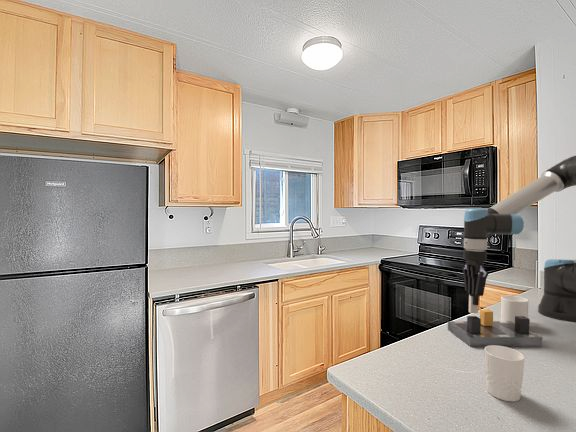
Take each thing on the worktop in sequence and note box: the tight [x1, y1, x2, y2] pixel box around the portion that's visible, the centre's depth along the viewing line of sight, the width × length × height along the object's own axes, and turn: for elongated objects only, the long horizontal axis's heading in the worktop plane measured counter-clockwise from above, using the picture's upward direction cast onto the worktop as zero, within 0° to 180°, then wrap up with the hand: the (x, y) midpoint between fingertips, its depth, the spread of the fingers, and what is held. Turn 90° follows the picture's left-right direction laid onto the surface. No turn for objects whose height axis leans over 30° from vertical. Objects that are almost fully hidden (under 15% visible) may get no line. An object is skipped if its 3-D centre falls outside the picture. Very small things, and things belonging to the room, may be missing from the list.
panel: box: [447, 315, 543, 348], centre depth 107 cm, size 23×14×8 cm, turn 90°
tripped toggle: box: [479, 308, 494, 326], centre depth 110 cm, size 3×2×5 cm
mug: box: [500, 294, 529, 323], centre depth 119 cm, size 12×8×10 cm
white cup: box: [484, 345, 525, 403], centre depth 75 cm, size 8×8×10 cm
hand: (473, 312), depth 118 cm, fingers closed
